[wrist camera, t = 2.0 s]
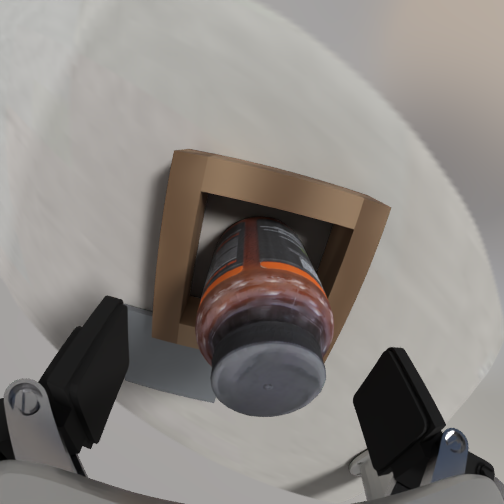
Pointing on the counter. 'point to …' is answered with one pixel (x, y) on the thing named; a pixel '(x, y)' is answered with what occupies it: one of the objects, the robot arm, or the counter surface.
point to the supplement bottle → (264, 320)
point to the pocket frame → (268, 194)
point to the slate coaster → (165, 361)
